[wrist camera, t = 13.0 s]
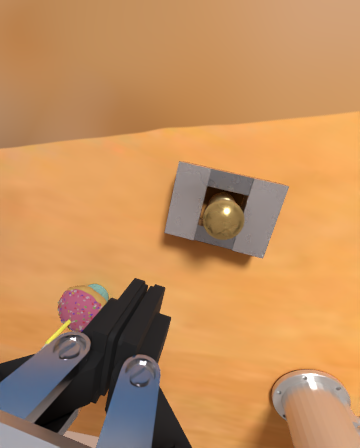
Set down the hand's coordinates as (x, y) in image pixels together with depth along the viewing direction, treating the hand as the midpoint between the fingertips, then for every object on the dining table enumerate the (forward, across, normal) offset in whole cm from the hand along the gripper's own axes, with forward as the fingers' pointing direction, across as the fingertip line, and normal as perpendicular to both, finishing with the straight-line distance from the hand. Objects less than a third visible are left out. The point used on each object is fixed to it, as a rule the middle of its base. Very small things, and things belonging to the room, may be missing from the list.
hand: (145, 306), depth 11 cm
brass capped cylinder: (+24, -4, -2) cm, 24 cm away
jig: (+24, -3, -2) cm, 24 cm away
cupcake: (+24, +14, +20) cm, 34 cm away
